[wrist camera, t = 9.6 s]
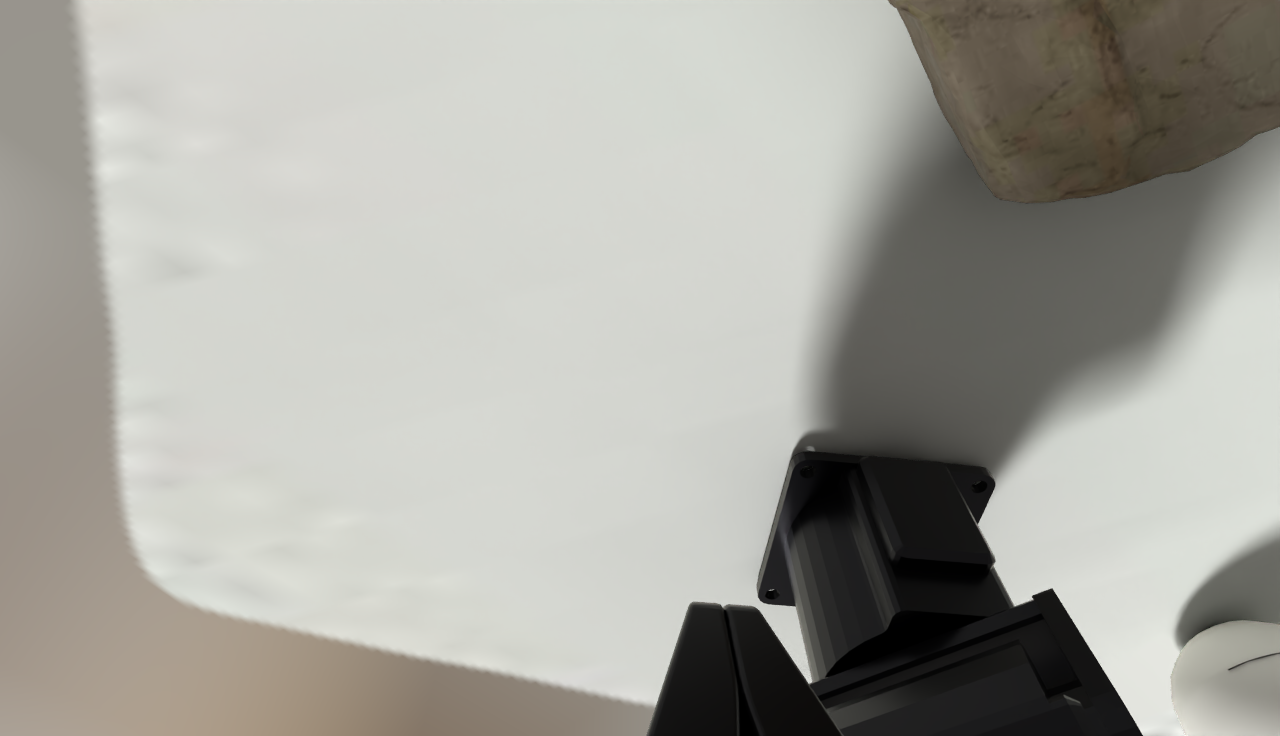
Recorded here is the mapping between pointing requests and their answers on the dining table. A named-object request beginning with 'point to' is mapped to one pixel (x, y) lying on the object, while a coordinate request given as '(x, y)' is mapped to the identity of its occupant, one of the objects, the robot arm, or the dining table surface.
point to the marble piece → (1097, 86)
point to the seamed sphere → (1229, 681)
